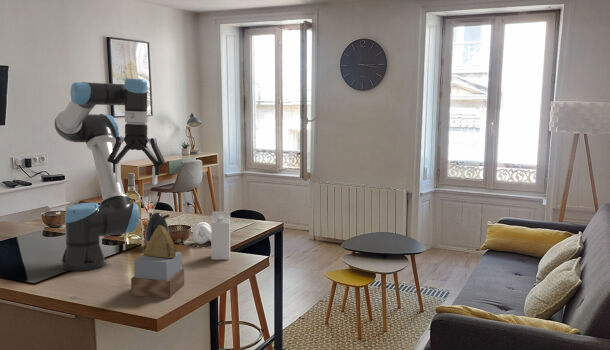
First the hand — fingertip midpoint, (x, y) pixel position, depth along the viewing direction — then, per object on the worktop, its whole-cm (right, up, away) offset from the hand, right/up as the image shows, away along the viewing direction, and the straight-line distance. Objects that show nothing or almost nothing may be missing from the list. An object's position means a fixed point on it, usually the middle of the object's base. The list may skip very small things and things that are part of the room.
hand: (136, 183), depth 188 cm
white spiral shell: (+15, -28, +50) cm, 60 cm away
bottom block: (+11, -36, -12) cm, 39 cm away
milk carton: (+26, -31, +27) cm, 49 cm away
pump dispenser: (-4, -28, +41) cm, 50 cm away
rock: (+12, -24, -14) cm, 30 cm away
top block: (+12, -30, -13) cm, 34 cm away
